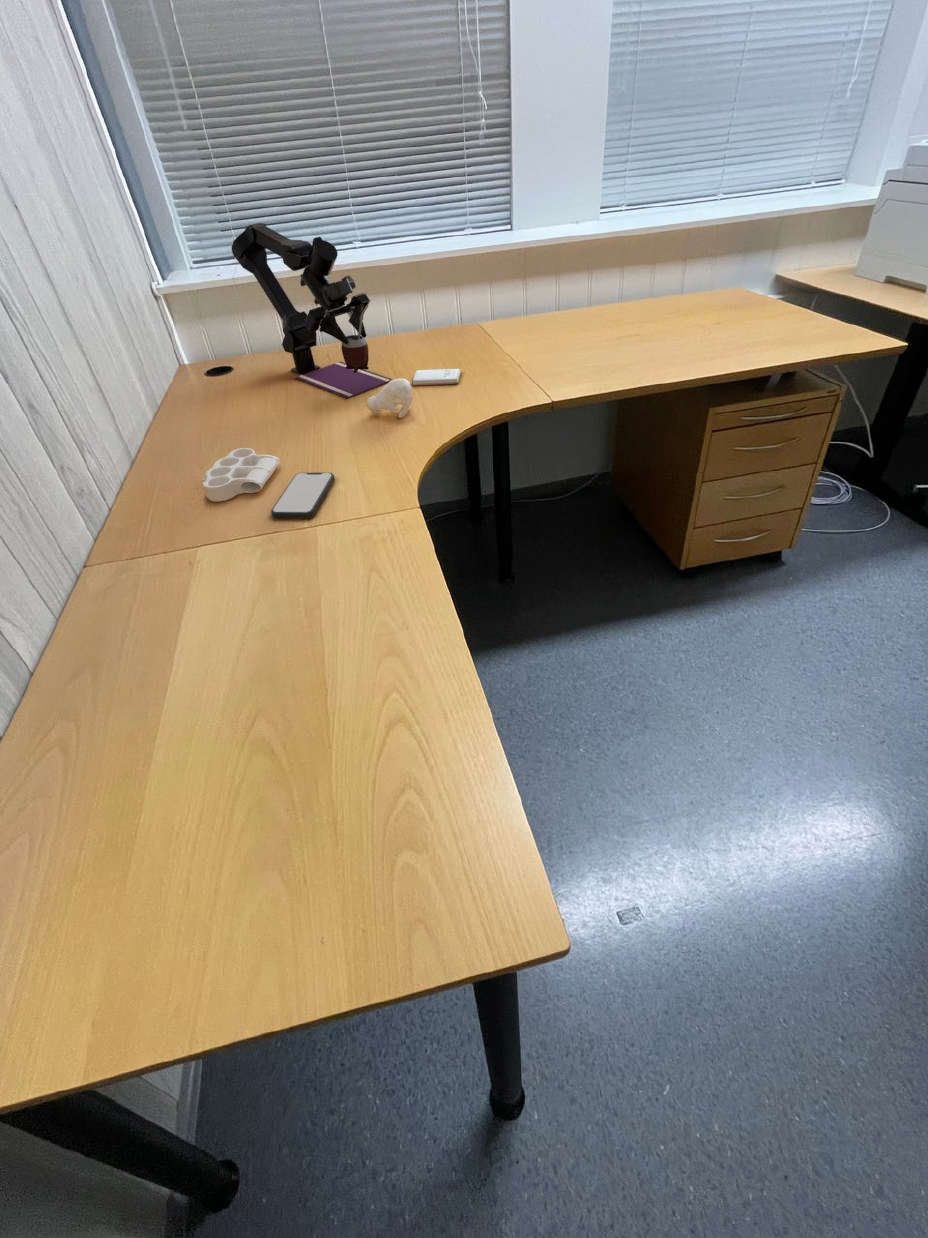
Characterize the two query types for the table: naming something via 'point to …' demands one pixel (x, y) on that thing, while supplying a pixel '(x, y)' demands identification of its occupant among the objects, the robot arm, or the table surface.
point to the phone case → (303, 495)
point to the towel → (343, 380)
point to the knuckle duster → (238, 474)
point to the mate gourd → (356, 350)
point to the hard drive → (436, 376)
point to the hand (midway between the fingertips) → (356, 339)
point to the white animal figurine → (392, 397)
